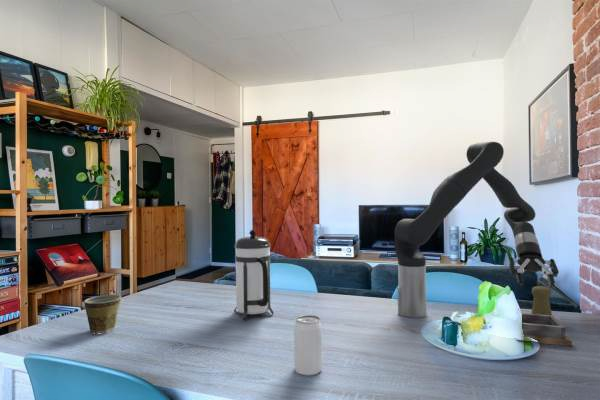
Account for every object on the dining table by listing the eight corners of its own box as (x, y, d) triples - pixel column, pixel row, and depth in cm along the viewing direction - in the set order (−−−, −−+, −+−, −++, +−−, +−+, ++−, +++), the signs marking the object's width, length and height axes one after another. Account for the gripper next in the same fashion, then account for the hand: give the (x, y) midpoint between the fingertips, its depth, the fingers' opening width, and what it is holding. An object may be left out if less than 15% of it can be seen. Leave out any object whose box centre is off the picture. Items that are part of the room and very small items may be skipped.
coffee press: (221, 319, 121) (221, 231, 121) (246, 306, 135) (245, 228, 136) (267, 325, 114) (266, 232, 114) (287, 310, 129) (286, 228, 129)
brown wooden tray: (516, 340, 99) (515, 324, 99) (506, 325, 111) (506, 310, 111) (571, 346, 95) (571, 329, 95) (555, 329, 107) (555, 314, 107)
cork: (556, 324, 112) (556, 289, 112) (535, 323, 113) (534, 288, 113) (547, 318, 118) (546, 285, 118) (527, 317, 119) (526, 284, 119)
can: (293, 364, 86) (293, 315, 86) (320, 363, 87) (319, 314, 87) (295, 377, 80) (295, 324, 80) (324, 375, 80) (323, 322, 80)
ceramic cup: (127, 327, 113) (127, 296, 113) (98, 338, 104) (98, 304, 104) (100, 322, 119) (100, 292, 119) (70, 332, 110) (70, 300, 110)
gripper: (506, 240, 131) (514, 277, 120) (552, 241, 126) (564, 280, 115) (504, 252, 136) (511, 289, 125) (547, 254, 131) (559, 292, 120)
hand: (536, 285), depth 120 cm, fingers open, 8 cm apart
